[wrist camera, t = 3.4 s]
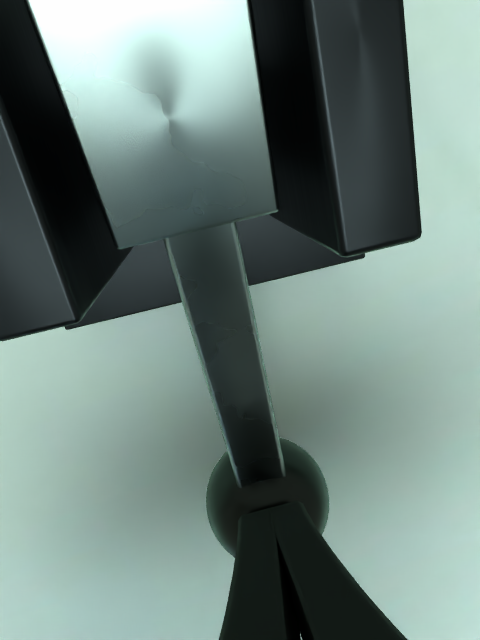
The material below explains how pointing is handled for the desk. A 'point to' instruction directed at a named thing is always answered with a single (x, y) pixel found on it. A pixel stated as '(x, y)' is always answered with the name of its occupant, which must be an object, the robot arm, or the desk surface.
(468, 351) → the desk surface
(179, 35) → the lever
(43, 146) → the bracket
